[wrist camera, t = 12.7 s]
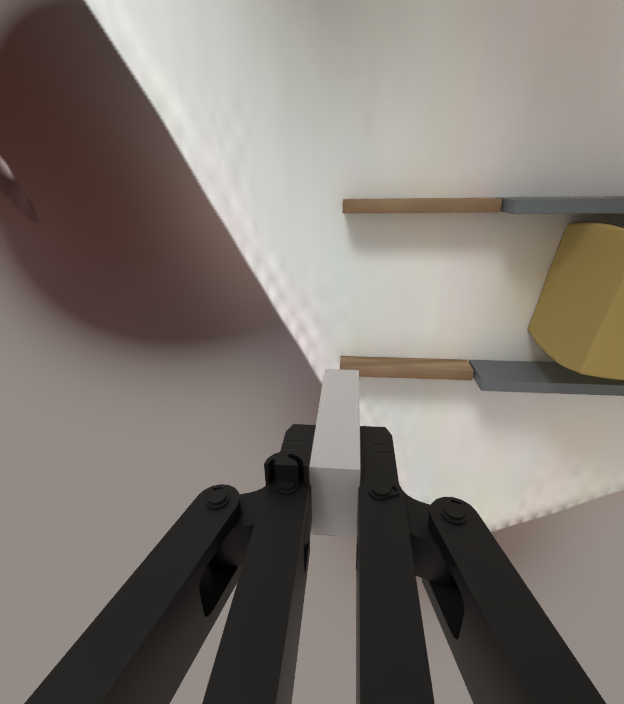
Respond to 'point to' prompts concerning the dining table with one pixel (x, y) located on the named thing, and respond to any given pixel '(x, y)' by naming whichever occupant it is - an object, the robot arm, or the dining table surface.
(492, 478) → the dining table surface
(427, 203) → the lane rails
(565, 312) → the cheese
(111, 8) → the dining table surface
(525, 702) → the robot arm
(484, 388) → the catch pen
